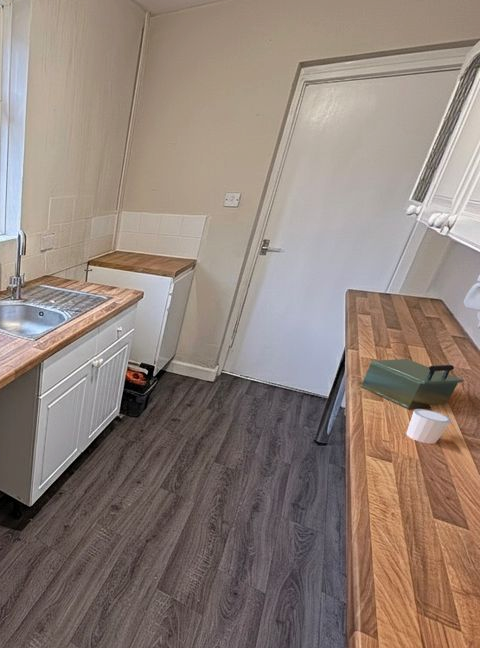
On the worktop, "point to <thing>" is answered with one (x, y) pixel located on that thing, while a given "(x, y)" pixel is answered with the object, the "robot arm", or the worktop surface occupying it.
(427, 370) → the box lid
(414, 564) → the worktop surface
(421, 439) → the white ramekin
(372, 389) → the green box
